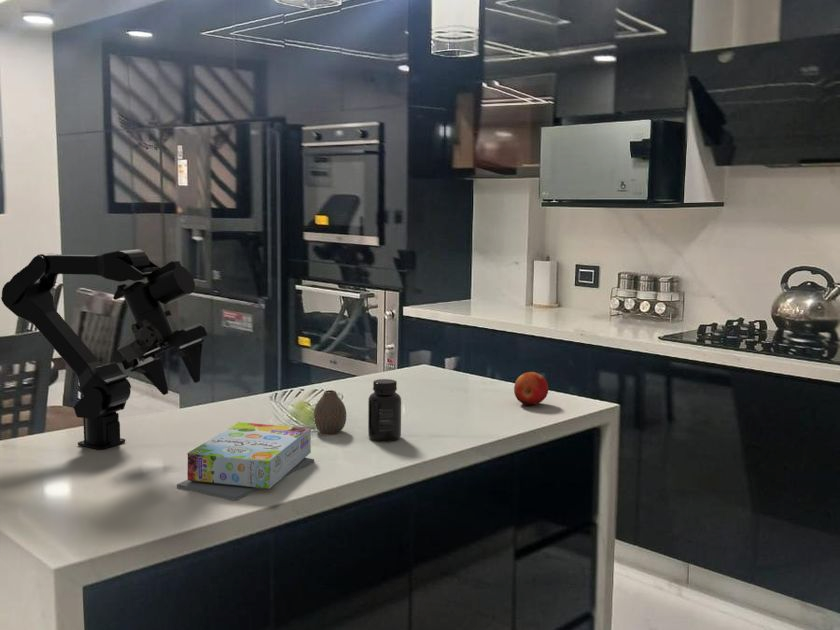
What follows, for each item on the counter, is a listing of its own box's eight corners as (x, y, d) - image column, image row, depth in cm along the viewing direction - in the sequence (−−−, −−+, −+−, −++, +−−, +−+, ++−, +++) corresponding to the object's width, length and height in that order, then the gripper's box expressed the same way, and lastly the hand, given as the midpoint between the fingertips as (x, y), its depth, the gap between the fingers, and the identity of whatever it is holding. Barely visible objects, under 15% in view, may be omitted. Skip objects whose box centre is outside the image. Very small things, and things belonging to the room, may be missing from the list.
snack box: (186, 484, 143) (269, 490, 140) (185, 452, 142) (269, 458, 139) (239, 448, 164) (312, 453, 160) (238, 420, 163) (312, 424, 160)
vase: (332, 438, 173) (333, 396, 172) (306, 433, 177) (306, 392, 176) (352, 431, 179) (353, 390, 178) (327, 425, 183) (327, 386, 182)
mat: (176, 487, 142) (176, 484, 142) (259, 452, 163) (259, 449, 163) (236, 500, 137) (236, 497, 137) (314, 462, 158) (314, 459, 157)
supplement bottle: (406, 436, 176) (407, 379, 175) (391, 444, 170) (392, 386, 169) (377, 431, 179) (378, 376, 178) (361, 439, 173) (362, 382, 171)
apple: (551, 403, 207) (553, 372, 206) (537, 410, 200) (539, 377, 199) (522, 399, 211) (523, 367, 210) (507, 405, 204) (508, 373, 203)
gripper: (85, 338, 157) (119, 414, 158) (148, 308, 148) (183, 390, 149) (130, 322, 167) (161, 395, 168) (192, 293, 157) (225, 370, 158)
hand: (181, 388), depth 160 cm, fingers open, 9 cm apart
